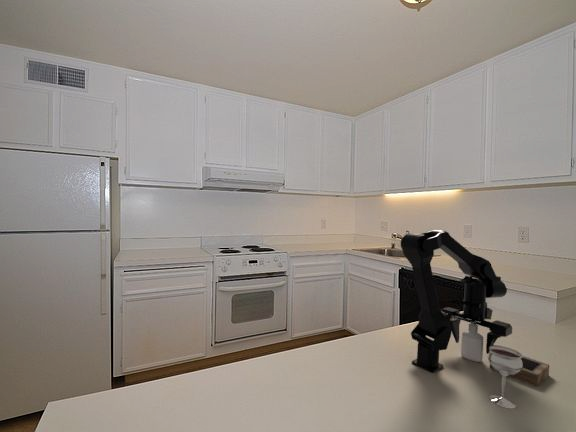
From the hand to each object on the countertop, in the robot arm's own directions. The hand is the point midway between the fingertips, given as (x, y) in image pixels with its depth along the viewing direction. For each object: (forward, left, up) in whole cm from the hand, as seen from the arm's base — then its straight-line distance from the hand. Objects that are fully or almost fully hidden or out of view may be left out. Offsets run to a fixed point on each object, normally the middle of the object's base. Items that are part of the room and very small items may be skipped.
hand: (472, 347), depth 92 cm
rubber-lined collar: (+4, -11, -3) cm, 12 cm away
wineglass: (-18, -14, -4) cm, 23 cm away
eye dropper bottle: (0, 0, -4) cm, 4 cm away
